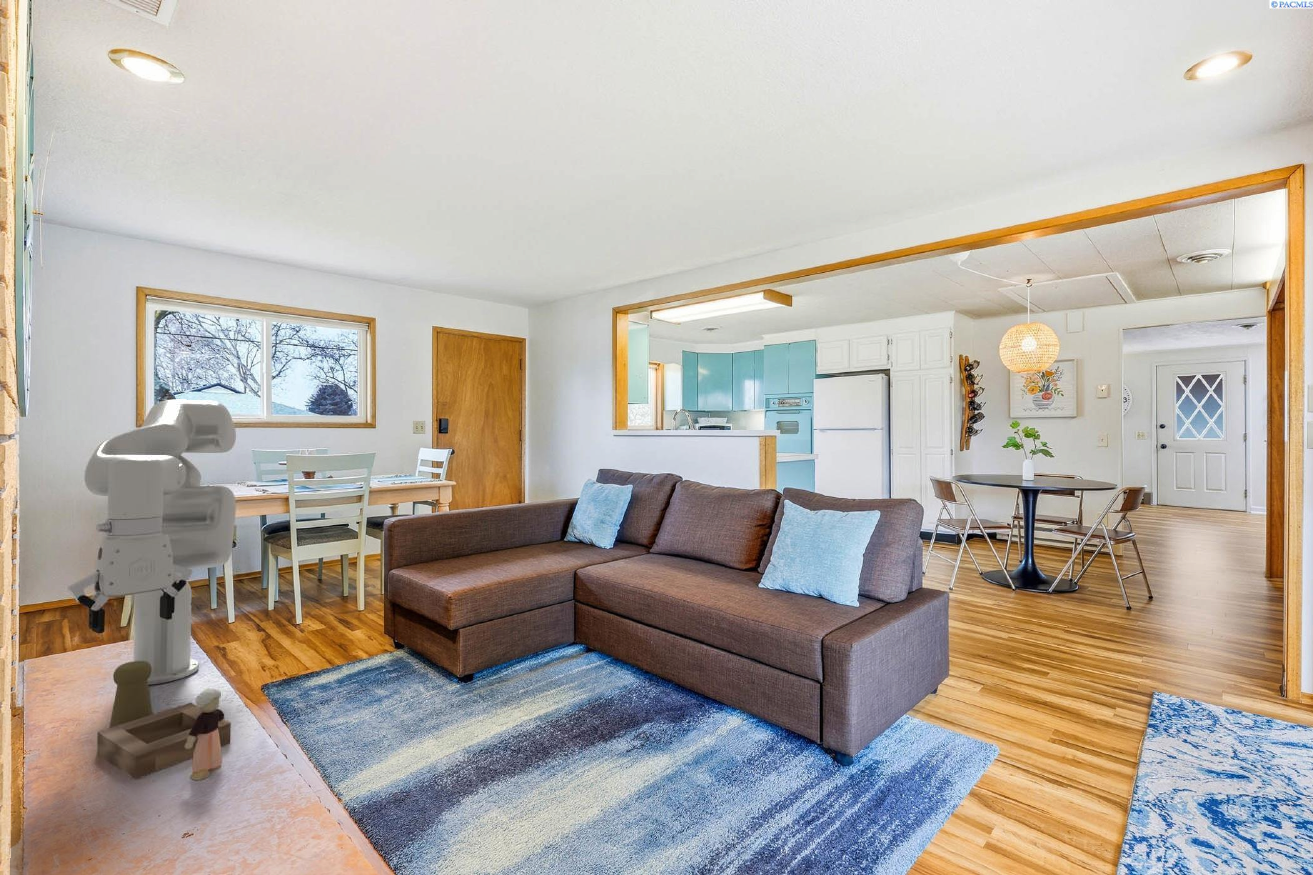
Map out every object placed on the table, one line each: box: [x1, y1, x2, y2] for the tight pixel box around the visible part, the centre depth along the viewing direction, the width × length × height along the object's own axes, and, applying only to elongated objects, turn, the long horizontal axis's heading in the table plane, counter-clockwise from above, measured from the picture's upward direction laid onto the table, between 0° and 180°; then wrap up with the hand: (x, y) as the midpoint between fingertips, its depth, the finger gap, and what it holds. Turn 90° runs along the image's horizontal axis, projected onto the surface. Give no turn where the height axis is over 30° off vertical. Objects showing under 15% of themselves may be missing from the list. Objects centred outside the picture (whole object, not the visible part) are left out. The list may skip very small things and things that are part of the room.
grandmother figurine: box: [185, 688, 227, 781], centre depth 96 cm, size 8×4×13 cm, turn 9°
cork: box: [109, 660, 154, 728], centre depth 110 cm, size 6×6×11 cm
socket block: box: [96, 702, 232, 780], centre depth 102 cm, size 14×13×4 cm
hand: (133, 624), depth 109 cm, fingers open, 9 cm apart
